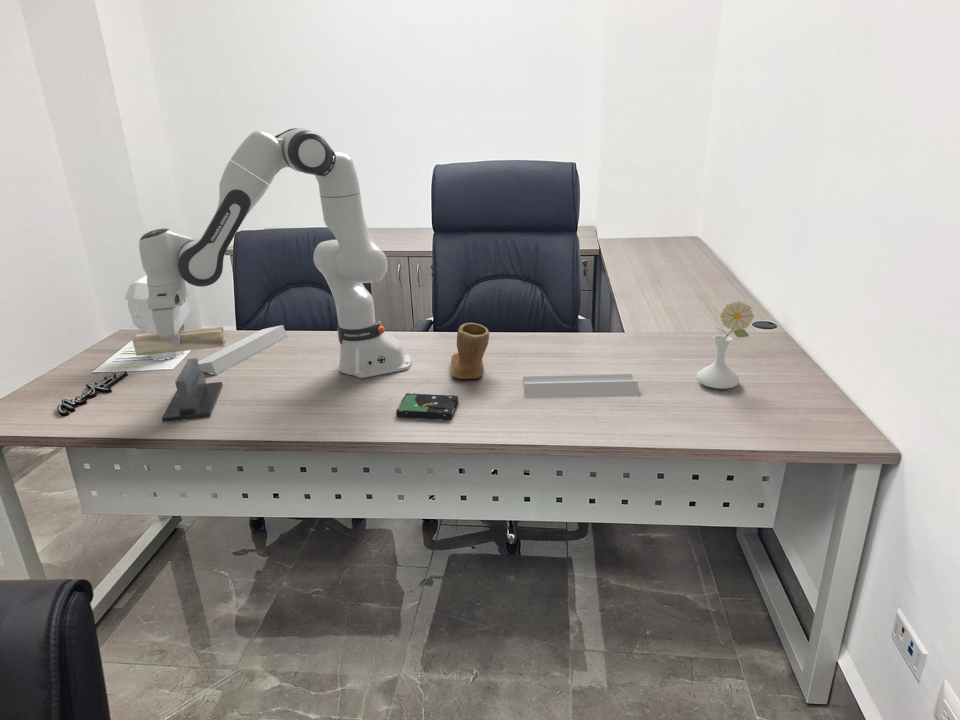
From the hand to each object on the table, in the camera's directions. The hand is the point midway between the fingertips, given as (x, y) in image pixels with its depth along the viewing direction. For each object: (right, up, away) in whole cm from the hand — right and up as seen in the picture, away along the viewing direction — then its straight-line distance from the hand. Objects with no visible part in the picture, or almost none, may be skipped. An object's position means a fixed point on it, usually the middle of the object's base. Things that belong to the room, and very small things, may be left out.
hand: (180, 342), depth 170 cm
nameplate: (-32, -15, +15) cm, 39 cm away
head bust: (-24, -4, +40) cm, 47 cm away
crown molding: (+109, -14, +8) cm, 110 cm away
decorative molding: (+1, -3, +41) cm, 41 cm away
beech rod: (0, -2, +1) cm, 2 cm away
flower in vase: (+148, -12, +7) cm, 149 cm away
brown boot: (+78, -8, +21) cm, 81 cm away
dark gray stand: (+1, -17, +7) cm, 18 cm away
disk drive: (+67, -19, -1) cm, 70 cm away
